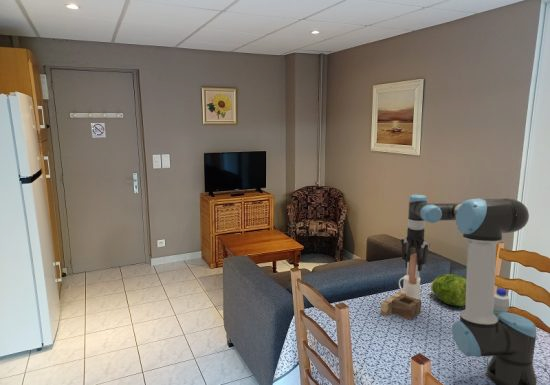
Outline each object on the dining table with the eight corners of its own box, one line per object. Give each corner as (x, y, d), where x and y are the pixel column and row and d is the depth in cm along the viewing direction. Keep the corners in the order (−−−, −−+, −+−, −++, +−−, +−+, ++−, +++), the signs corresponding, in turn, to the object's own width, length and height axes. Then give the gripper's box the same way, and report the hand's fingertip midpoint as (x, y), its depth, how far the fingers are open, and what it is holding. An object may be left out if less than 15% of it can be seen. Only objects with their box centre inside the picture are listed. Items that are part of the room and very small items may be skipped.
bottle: (508, 337, 168) (513, 292, 165) (491, 335, 169) (496, 291, 166) (503, 329, 174) (507, 286, 171) (486, 327, 176) (490, 285, 172)
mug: (393, 296, 209) (394, 274, 207) (404, 292, 213) (405, 271, 212) (412, 304, 199) (413, 281, 197) (422, 300, 204) (424, 278, 202)
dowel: (414, 285, 184) (416, 256, 182) (407, 282, 187) (408, 254, 185) (417, 282, 187) (419, 254, 185) (410, 280, 189) (412, 253, 187)
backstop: (386, 316, 186) (386, 304, 185) (380, 314, 188) (381, 302, 187) (405, 303, 200) (406, 292, 199) (400, 301, 202) (400, 290, 201)
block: (411, 320, 182) (412, 307, 181) (391, 313, 189) (392, 300, 188) (420, 313, 189) (421, 300, 188) (401, 306, 196) (401, 294, 195)
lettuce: (448, 297, 214) (440, 270, 215) (482, 300, 195) (473, 270, 196) (427, 307, 207) (419, 279, 208) (460, 311, 188) (451, 280, 189)
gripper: (437, 229, 179) (433, 278, 183) (403, 223, 191) (400, 269, 195) (430, 232, 174) (426, 282, 178) (395, 226, 186) (392, 273, 190)
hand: (412, 275), depth 186 cm, fingers closed on dowel, 3 cm apart
